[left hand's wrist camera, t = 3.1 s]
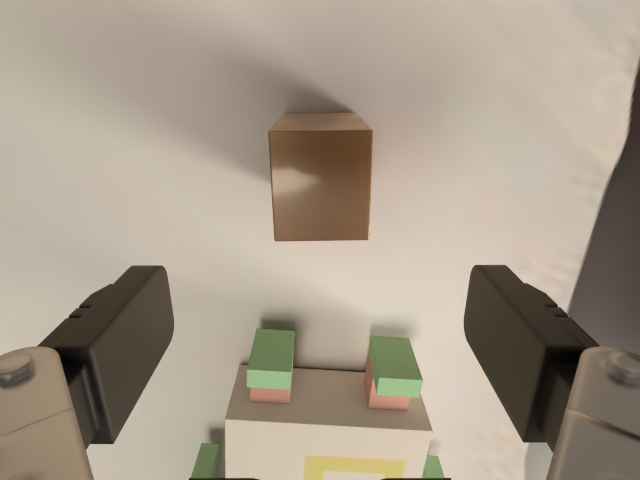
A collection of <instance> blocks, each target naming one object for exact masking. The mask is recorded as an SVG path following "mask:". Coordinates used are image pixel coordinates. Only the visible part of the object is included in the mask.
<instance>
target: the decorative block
mask: <svg viewBox="0 0 640 480" xmlns="http://www.w3.org/2000/svg"><path fill="white" fill-rule="evenodd" d="M294 341H295V331H289V330H273V329H258V328H257V330H256V335H255V339H254V343H253V347H252V351H251V355H250V360H249V364H248V365H240V366H239V370H238V373H237V377H236V381H235V384H234V388H233V392H232V396H231V399H230V403H229V407H228V410H227V414H226V418H225V478H255V479H259V480H381V479H385V478H444V475H443V471H442V468H441V465H440V462H439V459H438V456H427V453H428V449H429V445H430V441H431V436H432V432H433V431H432V428H431V424H430V421H429V418H428V415H427V412H426V409H425V406H424V403H423V400H422V396H421V393H420V392H421V387H422V382H423V379H422V376H421V373H420V370H419V368H418V365H417V362H416V359H415V356H414V353H413V350H412V347H411V344H410V341H409V338H396V337H381V336H371V339H370V346H369V352H368V359H367V366H366V372H349V371H333V370H317V369H301V368H293V356H294ZM218 459H219V444H207V443H202V444H201V448H200V451H199V454H198V457H197V460H196V463H195V467H194V470H193V473H192V476H191V478H215V471H216V467H217V463H218Z"/></svg>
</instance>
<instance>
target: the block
mask: <svg viewBox="0 0 640 480" xmlns="http://www.w3.org/2000/svg"><path fill="white" fill-rule="evenodd" d="M268 135H269V153H270V170H271V188H272V205H273V223H274V240H275V241H331V240H369V226H370V197H371V167H372V138H373V131H372V129H371V128H370V127H369V126H368V125H367V124H366V123H365V122H364V121H363V120H362V119H361V118H360V117H359V116H358V115H357V114H356V113H355V112H330V113H284V114H283V116H282V117H281V118H280V119H279V120H278V121H277V123H276V124H275V125H274V126H273V127H272V128H271V129H270V131H269V132H268Z"/></svg>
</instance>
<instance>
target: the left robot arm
mask: <svg viewBox="0 0 640 480" xmlns="http://www.w3.org/2000/svg"><path fill="white" fill-rule="evenodd" d="M173 330H174V317H173V310H172V303H171V297H170V290H169V284H168V277H167V272H166V270H165V268H164V267H163V266H131V267H130V268H129V269H128V270H127V271H126V272H125V273H124V274H123V275H122V276H121V277H120V278H119V279H118V280H117V281H116V282H115V283H114V284H110V285H108V286H106V287H104V288H102V289H100V290H98V291H97V292H95V293H93V294H91V295H90V296H89V297H88V298H87V299H86V300H85V301H84V302H83V303H82V304H81V305H80V306H79V308H77V309H76V310H75V311H73V312H72V313H71V314H70V315H69V318H66V319H65V320H64V321H63V322H62V323H61V324H60V325H59V326H58V327H57V328H56V329H55V330H54V331H53V332H52V333H50V334H49V335H48V336H47V337H46V338H45V339H44V340H43V341H42V342H41V343H40V344H39V345H38V346H37V347H28V348H23V349H18V350H15V351H11V352H8V353H6V354H3V355H1V356H0V480H94V478H93V474H92V471H91V467H90V463H89V460H88V456H87V453H86V449H87V448H88V446H89V444H114V442H115V440H116V438H117V436H118V435H119V433H120V431H121V429H122V428H123V426H124V424H125V422H126V420H127V419H128V417H129V415H130V413H131V411H132V410H133V408H134V406H135V404H136V403H137V401H138V399H139V397H140V395H141V394H142V392H143V390H144V388H145V387H146V385H147V383H148V381H149V379H150V378H151V376H152V374H153V372H154V370H155V369H156V367H157V365H158V363H159V362H160V360H161V358H162V356H163V354H164V353H165V351H166V349H167V347H168V346H169V344H170V342H171V339H172V336H173ZM464 331H465V336H466V339H467V342H468V343H469V345H470V347H471V349H472V351H473V352H474V354H475V356H476V358H477V360H478V361H479V363H480V365H481V367H482V369H483V371H484V372H485V374H486V376H487V378H488V380H489V381H490V383H491V385H492V387H493V389H494V390H495V392H496V394H497V396H498V398H499V399H500V401H501V403H502V405H503V407H504V408H505V410H506V412H507V414H508V416H509V417H510V419H511V421H512V423H513V425H514V426H515V428H516V430H517V432H518V434H519V435H520V437H521V439H522V441H523V442H547V444H548V445H549V447H550V449H551V450H552V452H553V456H552V460H551V464H550V467H549V471H548V474H547V478H546V480H640V356H639V355H637V354H634V353H632V352H629V351H625V350H622V349H617V348H612V347H601V346H599V345H598V344H597V343H596V342H595V341H594V340H593V339H592V338H591V337H590V336H589V335H588V334H587V333H586V332H585V331H584V330H583V329H582V328H581V327H580V326H579V325H578V324H577V323H576V322H575V321H574V320H573V319H572V318H570V317H568V315H567V314H566V313H565V312H564V311H563V310H562V309H561V308H560V307H558V305H557V304H556V303H555V302H554V301H553V300H552V299H551V298H550V297H549V296H548V295H547V294H546V293H544V292H542V291H540V290H538V289H536V288H535V287H533V286H531V285H529V284H527V283H523V282H522V281H521V280H520V279H519V278H518V277H517V276H516V275H515V274H514V273H513V272H512V271H511V270H510V269H509V268H508V267H507V266H506V265H475V266H474V267H473V268H472V271H471V275H470V281H469V288H468V294H467V301H466V308H465V314H464ZM189 480H259V479H255V478H189ZM381 480H451V478H385V479H381Z"/></svg>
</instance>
